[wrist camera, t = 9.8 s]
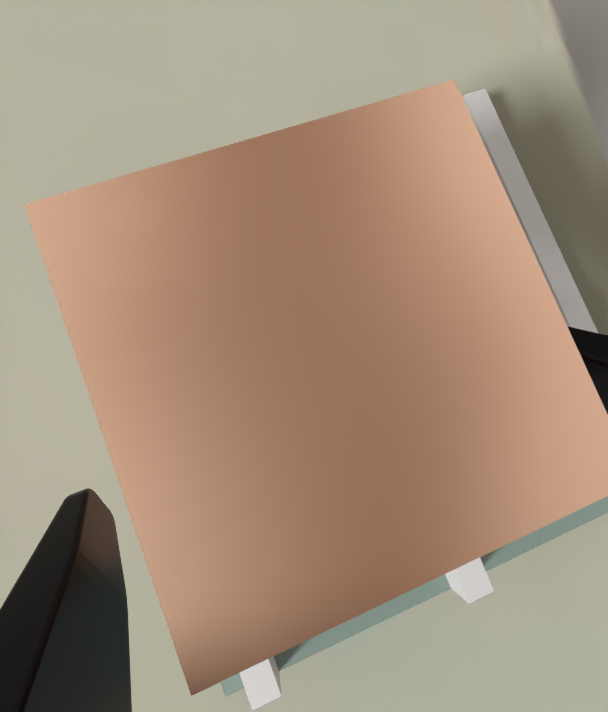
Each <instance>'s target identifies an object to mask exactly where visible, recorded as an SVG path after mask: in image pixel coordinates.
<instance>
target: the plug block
mask: <svg viewBox="0 0 608 712" xmlns="http://www.w3.org/2000/svg"><path fill="white" fill-rule="evenodd" d="M25 207H26V210H27V213H28V216H29V219H30V222H31V225H32V227H33V230H34V233H35V236H36V239H37V242H38V245H39V248H40V251H41V254H42V257H43V260H44V263H45V266H46V269H47V272H48V275H49V278H50V280H51V283H52V286H53V289H54V292H55V295H56V298H57V301H58V304H59V307H60V310H61V313H62V316H63V319H64V322H65V325H66V328H67V331H68V334H69V336H70V339H71V342H72V345H73V348H74V351H75V354H76V357H77V360H78V363H79V366H80V369H81V372H82V375H83V378H84V381H85V384H86V387H87V389H88V392H89V395H90V398H91V401H92V404H93V407H94V410H95V413H96V416H97V419H98V422H99V425H100V428H101V431H102V434H103V437H104V440H105V443H106V445H107V448H108V451H109V454H110V457H111V460H112V463H113V466H114V469H115V472H116V475H117V478H118V481H119V484H120V487H121V490H122V493H123V496H124V498H125V501H126V504H127V507H128V510H129V513H130V516H131V519H132V522H133V525H134V528H135V531H136V534H137V537H138V540H139V543H140V546H141V549H142V552H143V554H144V557H145V560H146V563H147V566H148V569H149V572H150V575H151V578H152V581H153V584H154V587H155V590H156V593H157V596H158V599H159V602H160V605H161V608H162V610H163V613H164V616H165V619H166V622H167V625H168V628H169V631H170V634H171V637H172V640H173V643H174V646H175V649H176V652H177V655H178V658H179V661H180V663H181V666H182V669H183V672H184V675H185V678H186V681H187V684H188V687H189V690H190V693H191V696H192V695H194V694H196V693H198V692H200V691H202V690H204V689H206V688H208V687H211V686H213V685H215V684H217V683H219V682H221V681H223V680H225V679H227V678H229V677H231V676H234V675H236V674H238V673H240V672H242V671H244V670H246V669H248V668H250V667H252V666H254V665H256V664H259V663H261V662H263V661H265V660H267V659H269V658H271V657H273V656H275V655H277V654H279V653H281V652H284V651H286V650H288V649H290V648H292V647H294V646H296V645H298V644H300V643H302V642H304V641H306V640H309V639H311V638H313V637H315V636H317V635H319V634H321V633H323V632H325V631H327V630H329V629H331V628H334V627H336V626H338V625H340V624H342V623H344V622H346V621H348V620H350V619H352V618H354V617H356V616H359V615H361V614H363V613H365V612H367V611H369V610H371V609H373V608H375V607H377V606H379V605H382V604H384V603H386V602H388V601H390V600H392V599H394V598H396V597H398V596H400V595H402V594H404V593H407V592H409V591H411V590H413V589H415V588H417V587H419V586H421V585H423V584H425V583H427V582H429V581H432V580H434V579H436V578H438V577H440V576H442V575H444V574H446V573H448V572H450V571H452V570H454V569H457V568H459V567H461V566H463V565H465V564H467V563H469V562H471V561H473V560H475V559H477V558H479V557H482V556H484V555H486V554H488V553H490V552H492V551H494V550H496V549H498V548H500V547H502V546H504V545H507V544H509V543H511V542H513V541H515V540H517V539H519V538H521V537H523V536H525V535H527V534H529V533H532V532H534V531H536V530H538V529H540V528H542V527H544V526H546V525H548V524H550V523H552V522H554V521H557V520H559V519H561V518H563V517H565V516H567V515H569V514H571V513H573V512H575V511H577V510H580V509H582V508H584V507H586V506H588V505H590V504H592V503H594V502H596V501H598V500H600V499H602V498H605V497H607V496H608V414H607V412H606V410H605V408H604V405H603V403H602V401H601V399H600V397H599V394H598V392H597V390H596V388H595V386H594V384H593V381H592V379H591V377H590V375H589V373H588V370H587V368H586V366H585V364H584V362H583V360H582V357H581V355H580V353H579V351H578V349H577V346H576V344H575V342H574V340H573V338H572V336H571V333H570V331H569V329H568V327H567V325H566V322H565V320H564V318H563V316H562V314H561V312H560V309H559V307H558V305H557V303H556V301H555V298H554V296H553V294H552V292H551V290H550V288H549V285H548V283H547V281H546V279H545V277H544V274H543V272H542V270H541V268H540V266H539V264H538V261H537V259H536V257H535V255H534V253H533V250H532V248H531V246H530V244H529V242H528V240H527V237H526V235H525V233H524V231H523V229H522V226H521V224H520V222H519V220H518V218H517V216H516V213H515V211H514V209H513V207H512V205H511V202H510V200H509V198H508V196H507V194H506V192H505V189H504V187H503V185H502V183H501V181H500V178H499V176H498V174H497V172H496V170H495V168H494V165H493V163H492V161H491V159H490V157H489V154H488V152H487V150H486V148H485V146H484V144H483V141H482V139H481V137H480V135H479V133H478V130H477V128H476V126H475V124H474V122H473V120H472V117H471V115H470V113H469V111H468V109H467V106H466V104H465V102H464V100H463V98H462V96H461V93H460V91H459V89H458V87H457V85H456V82H455V80H451V81H448V82H444V83H441V84H437V85H434V86H430V87H427V88H424V89H420V90H417V91H413V92H410V93H406V94H403V95H400V96H396V97H393V98H389V99H386V100H382V101H379V102H375V103H372V104H369V105H365V106H362V107H358V108H355V109H351V110H348V111H344V112H341V113H338V114H334V115H331V116H327V117H324V118H320V119H317V120H314V121H310V122H307V123H303V124H300V125H296V126H293V127H289V128H286V129H283V130H279V131H276V132H272V133H269V134H265V135H262V136H258V137H255V138H252V139H248V140H245V141H241V142H238V143H234V144H231V145H228V146H224V147H221V148H217V149H214V150H210V151H207V152H203V153H200V154H197V155H193V156H190V157H186V158H183V159H179V160H176V161H172V162H169V163H166V164H162V165H159V166H155V167H152V168H148V169H145V170H142V171H138V172H135V173H131V174H128V175H124V176H121V177H117V178H114V179H111V180H107V181H104V182H100V183H97V184H93V185H90V186H86V187H83V188H80V189H76V190H73V191H69V192H66V193H62V194H59V195H56V196H52V197H49V198H45V199H42V200H38V201H35V202H31V203H28V204H25Z"/></svg>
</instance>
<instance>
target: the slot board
mask: <svg viewBox="0 0 608 712" xmlns="http://www.w3.org/2000/svg"><path fill="white" fill-rule="evenodd" d="M463 100H464V102H465V104H466V106H467V109H468V111H469V113H470V115H471V117H472V120H473V122H474V124H475V126H476V128H477V130H478V133H479V135H480V137H481V139H482V141H483V144H484V146H485V148H486V150H487V152H488V154H489V157H490V159H491V161H492V163H493V165H494V168H495V170H496V172H497V174H498V176H499V178H500V181H501V183H502V185H503V187H504V189H505V192H506V194H507V196H508V198H509V200H510V202H511V205H512V207H513V209H514V211H515V213H516V216H517V218H518V220H519V222H520V224H521V226H522V229H523V231H524V233H525V235H526V237H527V240H528V242H529V244H530V246H531V248H532V250H533V253H534V255H535V257H536V259H537V261H538V264H539V266H540V268H541V270H542V272H543V274H544V277H545V279H546V281H547V283H548V285H549V288H550V290H551V292H552V294H553V296H554V298H555V301H556V303H557V305H558V307H559V309H560V312H561V314H562V316H563V318H564V320H565V322H566V325H567V326H569V327H573V328H577V329H582V330H586V331H590V332H594V333H598V331H597V329H596V327H595V325H594V322H593V320H592V318H591V316H590V314H589V312H588V310H587V307H586V305H585V303H584V301H583V299H582V297H581V294H580V292H579V290H578V288H577V286H576V284H575V281H574V279H573V277H572V275H571V273H570V271H569V268H568V266H567V264H566V262H565V260H564V258H563V255H562V253H561V251H560V249H559V247H558V245H557V242H556V240H555V238H554V236H553V234H552V232H551V229H550V227H549V225H548V223H547V221H546V219H545V216H544V214H543V212H542V210H541V208H540V206H539V203H538V201H537V199H536V197H535V195H534V193H533V190H532V188H531V186H530V184H529V182H528V180H527V178H526V175H525V173H524V171H523V169H522V167H521V165H520V162H519V160H518V158H517V156H516V154H515V152H514V149H513V147H512V145H511V143H510V141H509V139H508V136H507V134H506V132H505V130H504V128H503V126H502V123H501V121H500V119H499V117H498V115H497V113H496V110H495V108H494V106H493V104H492V102H491V100H490V97H489V95H488V93H487V91H486V89H482V90H479V91H475V92H472V93H469V94H465V95H464V96H463ZM607 512H608V496H607V497H605V498H602V499H600V500H598V501H596V502H594V503H592V504H590V505H588V506H586V507H584V508H582V509H580V510H577V511H575V512H573V513H571V514H569V515H567V516H565V517H563V518H561V519H559V520H557V521H554V522H552V523H550V524H548V525H546V526H544V527H542V528H540V529H538V530H536V531H534V532H532V533H529V534H527V535H525V536H523V537H521V538H519V539H517V540H515V541H513V542H511V543H509V544H507V545H504V546H502V547H500V548H498V549H496V550H494V551H492V552H490V553H488V554H486V555H484V556H482V557H479V558H477V559H475V560H473V561H471V562H469V563H467V564H465V565H463V566H461V567H459V568H457V569H454V570H452V571H450V572H448V573H446V574H444V575H442V576H440V577H438V578H436V579H434V580H432V581H429V582H427V583H425V584H423V585H421V586H419V587H417V588H415V589H413V590H411V591H409V592H407V593H404V594H402V595H400V596H398V597H396V598H394V599H392V600H390V601H388V602H386V603H384V604H382V605H379V606H377V607H375V608H373V609H371V610H369V611H367V612H365V613H363V614H361V615H359V616H356V617H354V618H352V619H350V620H348V621H346V622H344V623H342V624H340V625H338V626H336V627H334V628H331V629H329V630H327V631H325V632H323V633H321V634H319V635H317V636H315V637H313V638H311V639H309V640H306V641H304V642H302V643H300V644H298V645H296V646H294V647H292V648H290V649H288V650H286V651H284V652H281V653H279V654H277V655H275V656H273V657H271V658H269V659H267V660H265V661H263V662H261V663H259V664H256V665H254V666H252V667H250V668H248V669H246V670H244V671H242V672H240V673H238V674H236V675H234V676H231V677H229V678H227V679H225V680H223V681H221V685H222V687H223V690H224V693H225V696H228V695H230V694H233V693H235V692H237V691H239V690H241V689H243V688H245V691H246V693H247V696H248V699H249V702H250V705H251V708H252V710H254V709H256V708H258V707H260V706H262V705H264V704H266V703H268V702H270V701H272V700H274V699H276V698H278V697H281V686H280V676H279V671H280V670H282V669H284V668H286V667H288V666H291V665H293V664H295V663H297V662H299V661H301V660H303V659H305V658H307V657H309V656H311V655H313V654H315V653H317V652H320V651H322V650H324V649H326V648H328V647H330V646H332V645H334V644H336V643H338V642H340V641H342V640H344V639H346V638H349V637H351V636H353V635H355V634H357V633H359V632H361V631H363V630H365V629H367V628H369V627H371V626H373V625H375V624H378V623H380V622H382V621H384V620H386V619H388V618H390V617H392V616H394V615H396V614H398V613H400V612H402V611H404V610H407V609H409V608H411V607H413V606H415V605H417V604H419V603H421V602H423V601H425V600H427V599H429V598H431V597H433V596H436V595H438V594H440V593H442V592H444V591H446V590H448V589H450V588H451V589H453V590H454V591H455V592H456V593H457V594H458V595H460V596H461V597H462V598H463V599H464V600H466V601H467V602H468V603H471V602H474V601H476V600H478V599H480V598H482V597H484V596H486V595H488V594H490V593H492V592H494V590H493V588H492V585H491V583H490V580H489V578H488V576H487V573H486V571H487V570H489V569H491V568H494V567H496V566H498V565H500V564H502V563H504V562H506V561H508V560H510V559H512V558H514V557H516V556H518V555H520V554H523V553H525V552H527V551H529V550H531V549H533V548H535V547H537V546H539V545H541V544H543V543H545V542H547V541H549V540H552V539H554V538H556V537H558V536H560V535H562V534H564V533H566V532H568V531H570V530H572V529H574V528H576V527H578V526H581V525H583V524H585V523H587V522H589V521H591V520H593V519H595V518H597V517H599V516H601V515H603V514H605V513H607Z"/></svg>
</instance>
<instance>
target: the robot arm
mask: <svg viewBox="0 0 608 712" xmlns="http://www.w3.org/2000/svg"><path fill="white" fill-rule="evenodd" d="M567 327H568V329H569V331H570V333H571V336H572V338H573V340H574V342H575V344H576V346H577V349H578V351H579V353H580V355H581V357H582V360H583V362H584V364H585V366H586V368H587V370H588V373H589V375H590V377H591V379H592V381H593V384H594V386H595V388H596V390H597V392H598V394H599V397H600V399H601V401H602V403H603V405H604V408H605V410H606V412H607V414H608V336H607V335H603V334H599V333H594V332H590V331H586V330H582V329H577V328H573V327H569V326H567ZM0 712H132V705H131V680H130V655H129V631H128V608H127V596H126V589H125V582H124V576H123V570H122V564H121V557H120V551H119V545H118V539H117V533H116V527H115V521H114V518H113V515H112V513H111V512H110V510H109V509H108V508H107V506H106V505H105V504H104V503H103V502H102V500H101V499H100V498H99V497H98V495H97V494H96V493H95V492H94V491H93V490H92V489H84V490H82V491H79V492H76V493H74V494H71V495H69V496H68V497H67V498H66V499H65V500H64V501H63V503H62V505H61V507H60V508H59V510H58V512H57V513H56V515H55V517H54V518H53V520H52V522H51V524H50V525H49V527H48V529H47V530H46V532H45V534H44V536H43V537H42V539H41V541H40V542H39V544H38V546H37V547H36V549H35V551H34V553H33V554H32V556H31V558H30V559H29V561H28V563H27V564H26V566H25V568H24V570H23V571H22V573H21V575H20V576H19V578H18V580H17V581H16V583H15V585H14V587H13V588H12V590H11V592H10V593H9V595H8V597H7V598H6V600H5V602H4V604H3V605H2V607H1V609H0Z"/></svg>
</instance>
